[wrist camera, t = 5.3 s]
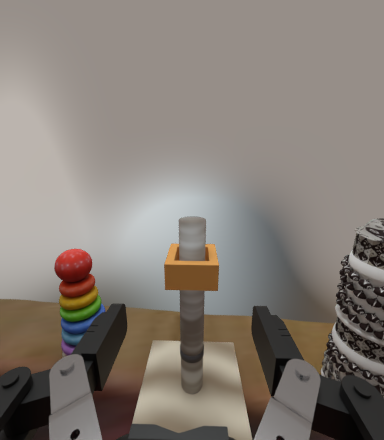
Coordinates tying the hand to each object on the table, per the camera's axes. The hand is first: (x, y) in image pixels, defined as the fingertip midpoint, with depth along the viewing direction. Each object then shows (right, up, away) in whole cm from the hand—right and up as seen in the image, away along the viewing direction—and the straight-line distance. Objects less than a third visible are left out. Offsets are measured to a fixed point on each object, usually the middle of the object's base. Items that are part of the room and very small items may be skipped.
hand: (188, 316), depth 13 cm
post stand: (0, -18, +17) cm, 25 cm away
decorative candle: (+24, -19, +17) cm, 35 cm away
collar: (0, -1, +12) cm, 12 cm away
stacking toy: (-18, -17, +23) cm, 34 cm away
